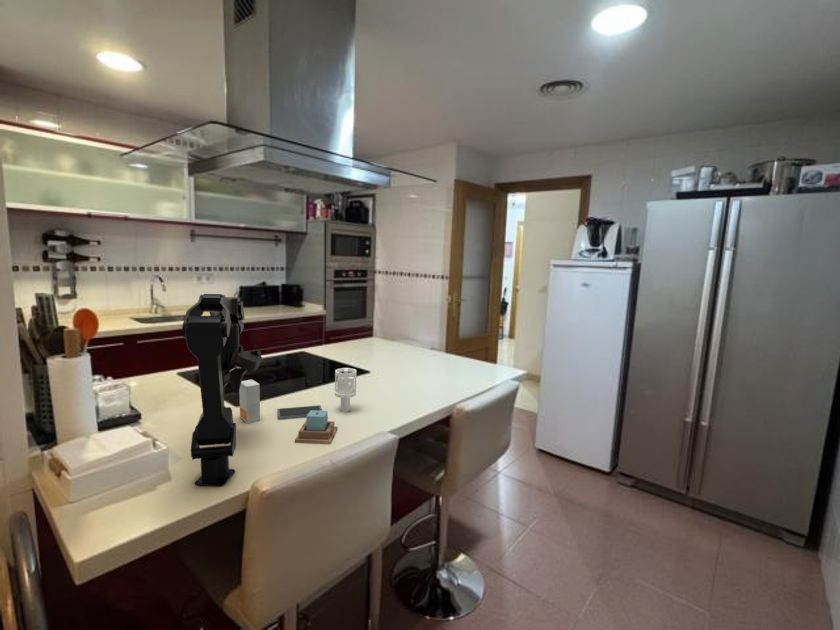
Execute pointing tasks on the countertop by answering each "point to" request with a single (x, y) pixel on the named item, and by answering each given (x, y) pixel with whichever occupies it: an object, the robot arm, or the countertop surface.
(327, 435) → the dock
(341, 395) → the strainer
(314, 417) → the blue drawer box
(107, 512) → the countertop surface
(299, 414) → the phone
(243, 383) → the skincare box
